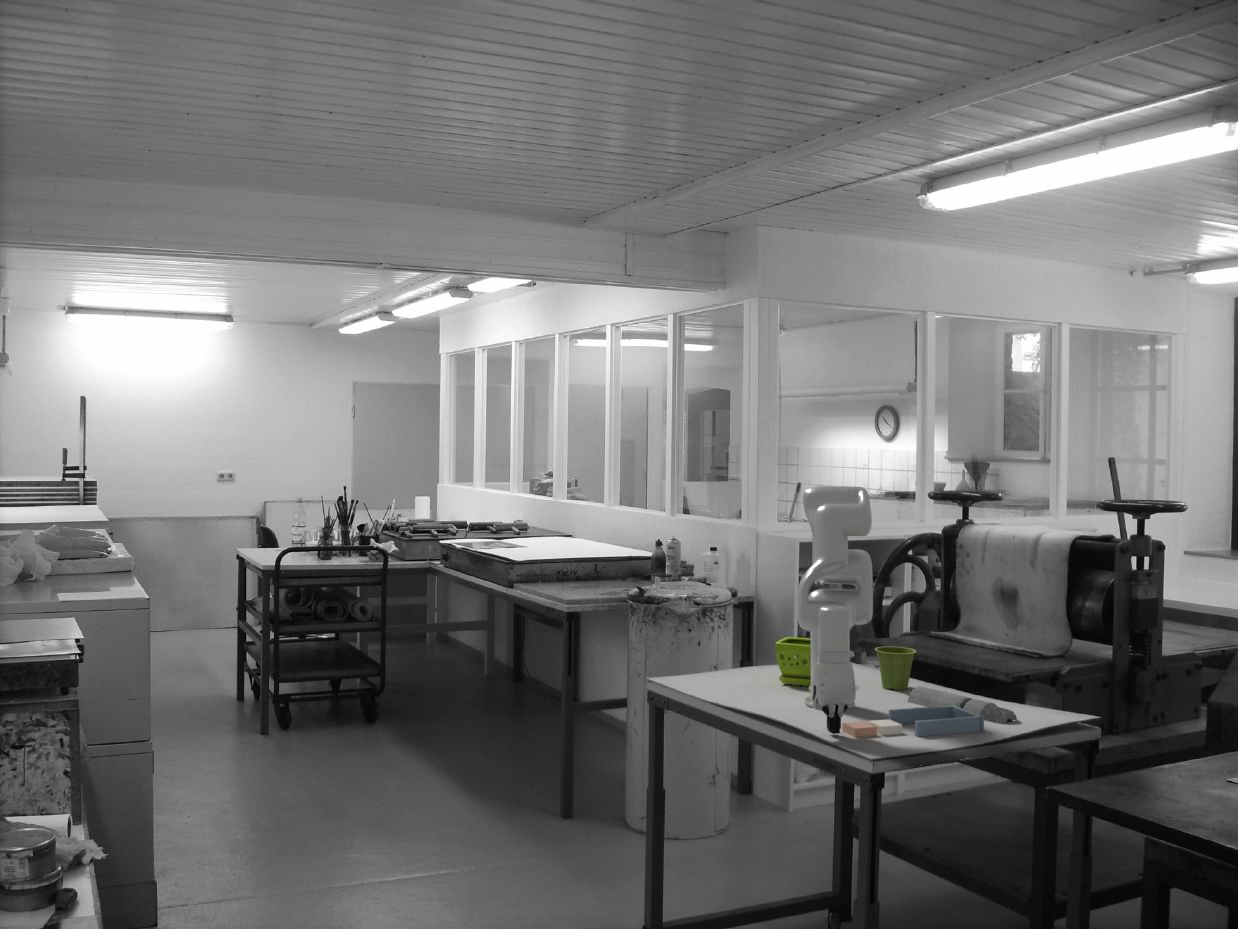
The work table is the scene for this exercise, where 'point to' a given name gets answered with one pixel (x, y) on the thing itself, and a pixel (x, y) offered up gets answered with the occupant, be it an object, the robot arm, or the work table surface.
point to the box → (938, 720)
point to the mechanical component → (960, 704)
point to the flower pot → (794, 660)
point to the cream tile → (887, 727)
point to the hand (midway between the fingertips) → (833, 732)
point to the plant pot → (895, 666)
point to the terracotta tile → (859, 729)
